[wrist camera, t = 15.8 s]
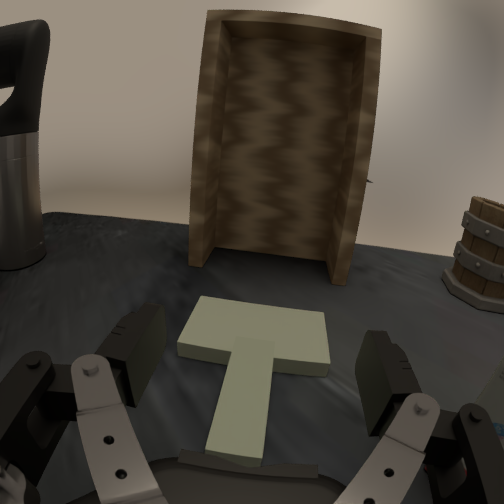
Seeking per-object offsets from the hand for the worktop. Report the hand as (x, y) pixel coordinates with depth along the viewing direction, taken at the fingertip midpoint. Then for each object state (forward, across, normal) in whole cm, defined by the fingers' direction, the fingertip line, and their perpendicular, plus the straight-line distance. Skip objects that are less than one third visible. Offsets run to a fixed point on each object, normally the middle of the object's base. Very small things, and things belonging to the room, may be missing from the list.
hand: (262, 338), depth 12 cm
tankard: (+27, -37, +10) cm, 47 cm away
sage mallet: (+8, 0, +10) cm, 13 cm away
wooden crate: (+30, 0, +10) cm, 32 cm away
